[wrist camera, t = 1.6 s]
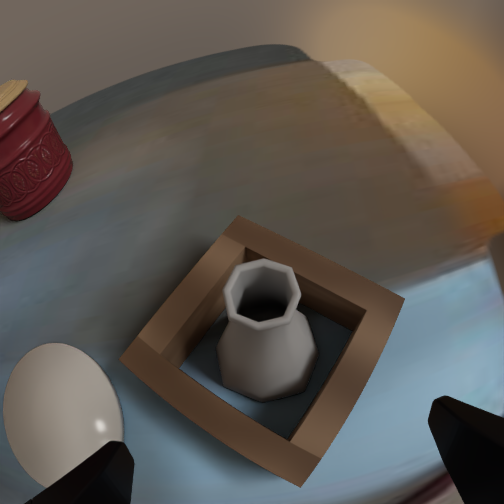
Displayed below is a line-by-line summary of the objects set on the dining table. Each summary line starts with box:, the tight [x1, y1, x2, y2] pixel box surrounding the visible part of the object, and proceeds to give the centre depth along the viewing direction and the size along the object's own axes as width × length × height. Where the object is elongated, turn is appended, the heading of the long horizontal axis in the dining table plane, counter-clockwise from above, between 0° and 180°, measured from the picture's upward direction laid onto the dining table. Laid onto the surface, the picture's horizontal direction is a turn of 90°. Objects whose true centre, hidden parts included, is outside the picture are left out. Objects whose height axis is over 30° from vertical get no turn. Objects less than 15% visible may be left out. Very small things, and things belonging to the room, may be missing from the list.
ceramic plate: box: [3, 343, 124, 488], centre depth 17 cm, size 13×13×1 cm
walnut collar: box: [119, 215, 405, 488], centre depth 19 cm, size 13×13×4 cm
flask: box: [216, 258, 319, 403], centre depth 16 cm, size 7×7×10 cm
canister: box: [0, 80, 73, 221], centre depth 26 cm, size 13×13×18 cm
